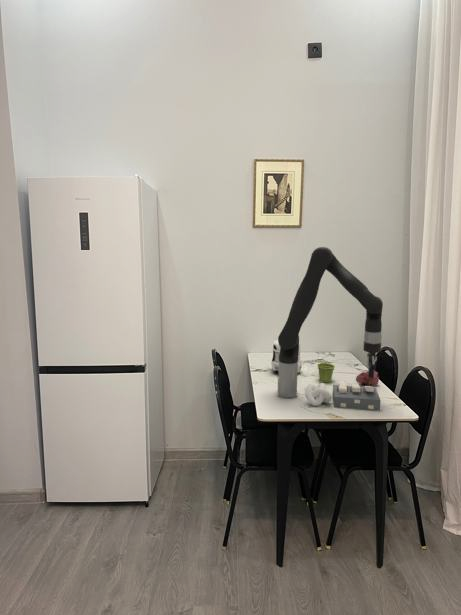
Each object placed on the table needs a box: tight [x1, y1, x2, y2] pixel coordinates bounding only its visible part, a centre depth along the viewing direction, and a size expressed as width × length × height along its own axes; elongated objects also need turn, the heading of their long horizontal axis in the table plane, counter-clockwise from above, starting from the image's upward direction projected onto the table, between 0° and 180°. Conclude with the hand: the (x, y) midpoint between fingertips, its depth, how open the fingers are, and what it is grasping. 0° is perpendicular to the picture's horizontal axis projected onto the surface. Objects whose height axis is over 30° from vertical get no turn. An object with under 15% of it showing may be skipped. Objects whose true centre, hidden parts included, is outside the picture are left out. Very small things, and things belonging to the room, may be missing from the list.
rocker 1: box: [338, 380, 347, 393], centre depth 190 cm, size 3×7×2 cm, turn 168°
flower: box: [355, 370, 380, 387], centre depth 211 cm, size 11×10×10 cm
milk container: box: [270, 339, 302, 374], centre depth 232 cm, size 17×17×18 cm
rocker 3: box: [363, 385, 374, 392], centre depth 188 cm, size 3×7×2 cm, turn 168°
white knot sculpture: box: [304, 382, 332, 407], centre depth 188 cm, size 11×12×9 cm
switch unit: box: [332, 384, 382, 411], centre depth 189 cm, size 20×16×7 cm
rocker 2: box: [350, 383, 360, 392], centre depth 189 cm, size 3×7×2 cm, turn 168°
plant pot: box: [316, 362, 336, 384], centre depth 218 cm, size 9×9×9 cm
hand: (370, 377), depth 184 cm, fingers closed
